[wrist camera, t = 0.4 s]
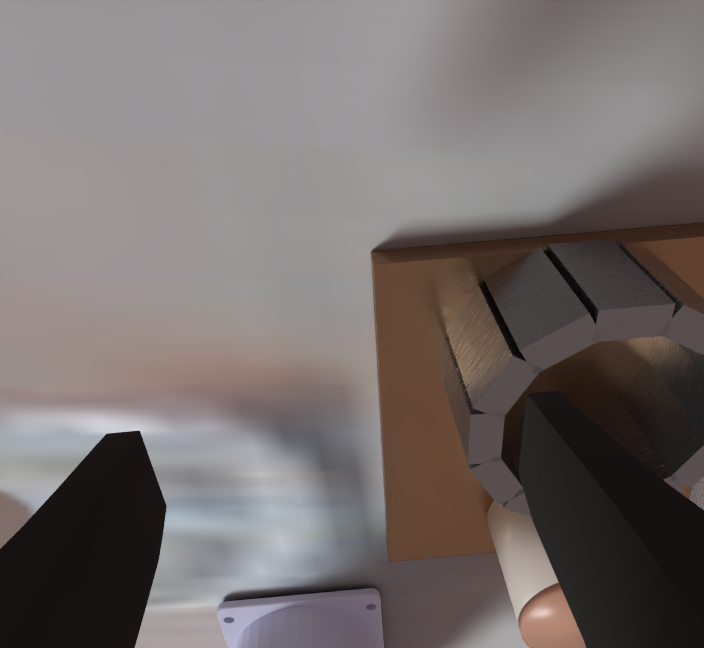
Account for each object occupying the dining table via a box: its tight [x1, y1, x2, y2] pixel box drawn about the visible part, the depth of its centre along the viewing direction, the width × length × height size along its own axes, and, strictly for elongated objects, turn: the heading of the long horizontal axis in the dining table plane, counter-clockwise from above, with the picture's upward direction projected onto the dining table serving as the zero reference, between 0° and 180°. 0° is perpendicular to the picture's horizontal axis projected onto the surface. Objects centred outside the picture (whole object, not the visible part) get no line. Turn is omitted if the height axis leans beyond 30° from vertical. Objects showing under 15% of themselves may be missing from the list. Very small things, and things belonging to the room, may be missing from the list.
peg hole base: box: [371, 223, 704, 562], centre depth 22 cm, size 15×13×5 cm
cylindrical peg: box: [487, 500, 586, 648], centre depth 24 cm, size 4×4×5 cm
